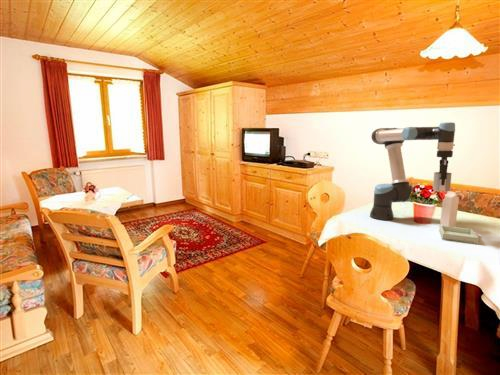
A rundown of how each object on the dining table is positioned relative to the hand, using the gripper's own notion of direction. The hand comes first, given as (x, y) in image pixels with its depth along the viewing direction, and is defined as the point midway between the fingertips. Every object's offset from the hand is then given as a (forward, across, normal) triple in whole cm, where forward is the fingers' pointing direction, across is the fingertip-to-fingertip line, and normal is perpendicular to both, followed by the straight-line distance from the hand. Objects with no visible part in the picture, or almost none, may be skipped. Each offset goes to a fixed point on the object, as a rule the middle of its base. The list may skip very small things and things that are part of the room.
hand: (441, 189), depth 170 cm
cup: (+1, 0, 0) cm, 1 cm away
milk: (+26, +20, -7) cm, 33 cm away
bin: (+26, -3, -9) cm, 28 cm away
